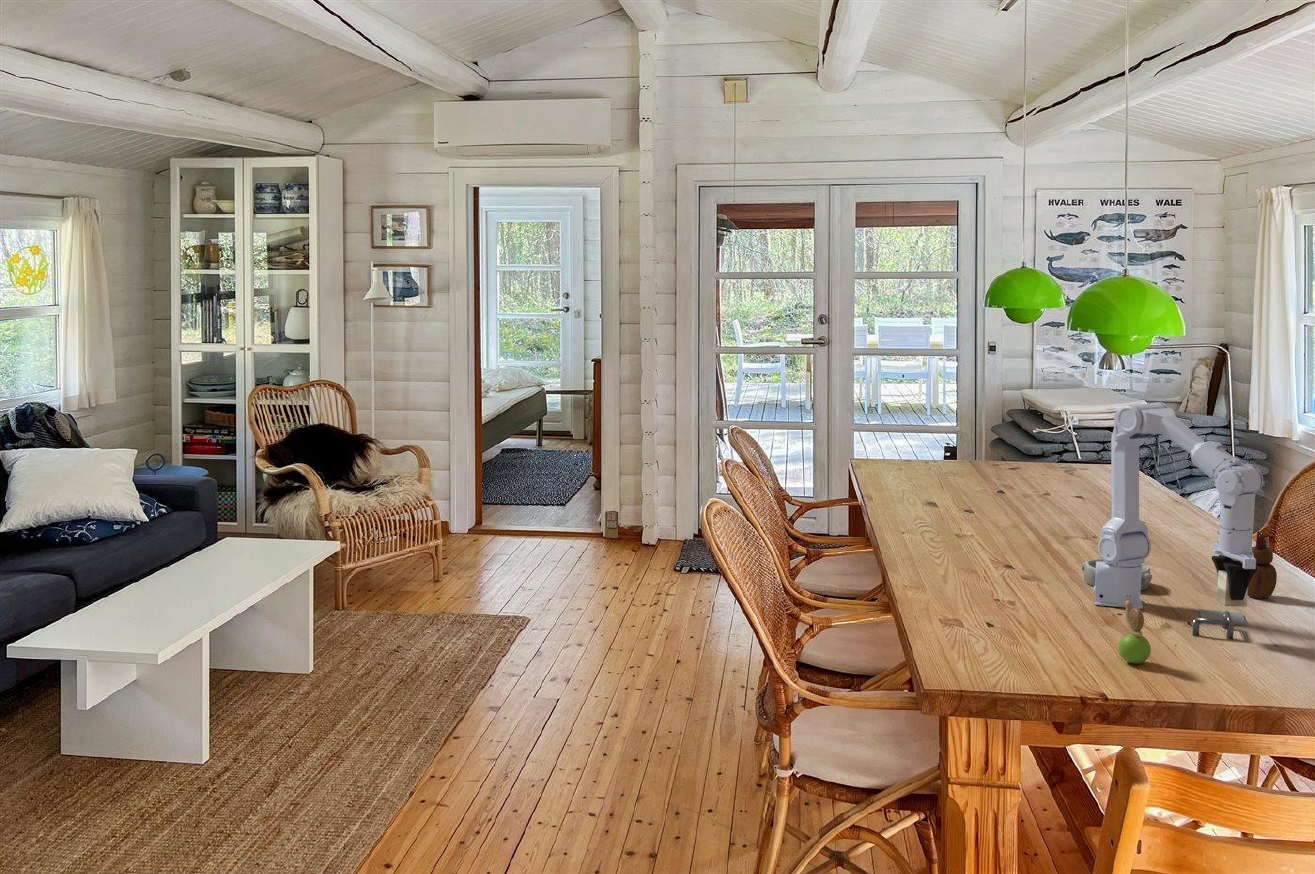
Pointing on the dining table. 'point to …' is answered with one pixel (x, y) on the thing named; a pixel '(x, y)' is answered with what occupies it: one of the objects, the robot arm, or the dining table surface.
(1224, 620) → the bent rod
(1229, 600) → the ash block
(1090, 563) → the dish
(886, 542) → the dining table surface
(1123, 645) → the green beige tall piece
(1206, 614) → the mat
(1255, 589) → the wooden figurine
